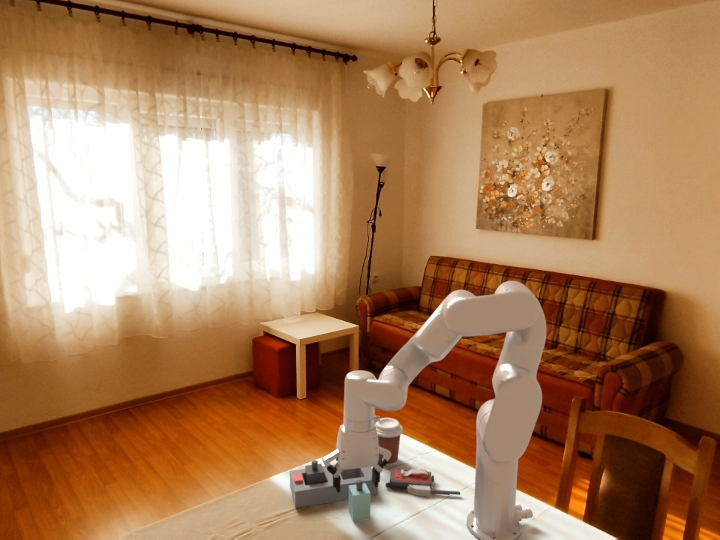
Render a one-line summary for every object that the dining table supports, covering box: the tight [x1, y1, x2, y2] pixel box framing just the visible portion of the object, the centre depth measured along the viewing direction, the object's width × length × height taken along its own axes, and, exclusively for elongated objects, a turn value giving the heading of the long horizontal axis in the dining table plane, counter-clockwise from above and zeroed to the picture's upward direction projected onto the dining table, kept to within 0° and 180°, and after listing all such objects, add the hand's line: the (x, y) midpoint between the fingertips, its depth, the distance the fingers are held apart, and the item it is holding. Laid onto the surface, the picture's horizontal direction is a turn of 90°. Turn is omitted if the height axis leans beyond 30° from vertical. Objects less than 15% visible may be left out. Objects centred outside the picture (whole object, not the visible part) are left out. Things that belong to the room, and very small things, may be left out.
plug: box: [348, 480, 371, 523], centre depth 127 cm, size 4×4×9 cm
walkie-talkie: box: [385, 468, 461, 498], centre depth 139 cm, size 9×4×20 cm
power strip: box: [289, 460, 379, 509], centre depth 137 cm, size 22×10×9 cm, turn 105°
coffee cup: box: [375, 417, 404, 467], centre depth 152 cm, size 9×9×12 cm
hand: (356, 486), depth 127 cm, fingers open, 9 cm apart
